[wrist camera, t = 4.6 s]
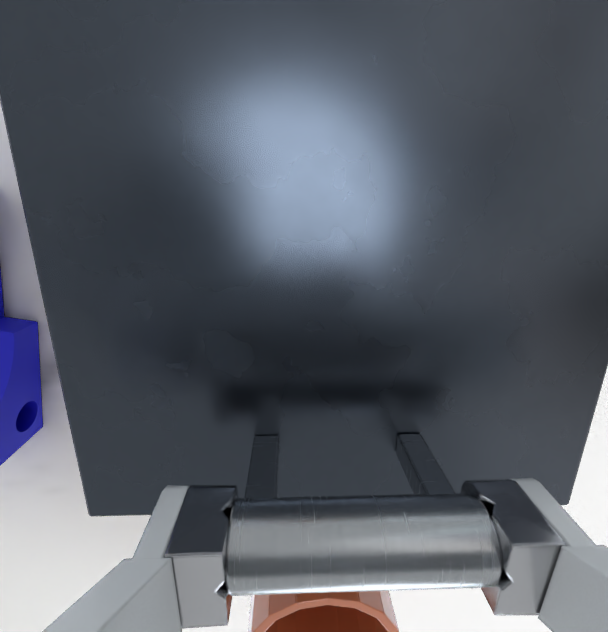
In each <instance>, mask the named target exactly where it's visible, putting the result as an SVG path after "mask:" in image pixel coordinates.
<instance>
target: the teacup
mask: <svg viewBox="0 0 608 632" xmlns="http://www.w3.org/2000/svg"><path fill="white" fill-rule="evenodd" d="M248 632H399V630H398V626H397V622H396V618H395V614H394V610H393V606H392V602H391V598H390V594H389V591H361V592H331V593H301V594H271V595H251V606H250V616H249V626H248Z"/></svg>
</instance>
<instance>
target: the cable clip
mask: <svg viewBox="0 0 608 632" xmlns="http://www.w3.org/2000/svg"><path fill="white" fill-rule="evenodd" d="M42 427H43V419H42V399H41V379H40V359H39V340H38V322H36V321H29V320H23V319H17V318H10V317H4V306H3V294H2V282H1V270H0V465H2V464H3V463H4V462H5V461H6V460H7V459H8V458H9V457H10V456H11V455H12V454H14V453H15V452H16V451H17V450H18V449H19V448H20V447H21V446H22V445H23V444H24V443H26V442H27V441H28V440H29V439H30V438H31V437H32V436H33V435H34V434H35V433H36V432H38V431H39V430H40V429H41V428H42Z"/></svg>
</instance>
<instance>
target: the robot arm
mask: <svg viewBox="0 0 608 632" xmlns="http://www.w3.org/2000/svg"><path fill="white" fill-rule="evenodd" d="M460 493H470V494H472V495H475V496H476V497H477V498H478V499H480V500H481V502H482V503H483V504H484V506H485V507H486V509H487V510H488V512H489V514H490V516H491V519H492V521H493V523H494V526H495V529H496V532H497V535H498V539H499V543H500V548H501V554H502V575H501V578H500V581H499V582H498V583H497V584H496V585H495V586H493V587H482V588H481V589H482V591H483V593H484V595H485V597H486V599H487V601H488V603H489V605H490V607H491V609H492V611H493V613H494V615H539V616H538V618H539V619H540V620H541V621H542V622H543V623H544V624H545V625H546V626H547V627H548V628H549V629H550V630H551V631H552V632H608V547H606V546H604V545H595V543H594V542H593V541H592V540H591V539H590V538H589V537H588V536H587V534H586V533H585V532H584V531H583V530H582V529H581V528H580V527H579V526H578V524H577V523H576V522H575V521H574V520H573V519H572V518H571V517H570V515H569V514H568V513H567V512H566V511H565V510H564V509H563V508H562V506H561V505H560V504H559V503H558V502H557V501H556V500H555V499H554V498H553V496H552V495H551V494H550V493H549V492H548V491H547V490H546V489H545V487H544V486H543V485H542V484H541V483H540V482H539V481H537V480H535V479H534V478H517V479H489V480H465V482H464V483H463V484H462V487H461V492H460ZM237 498H238V487H237V486H236V485H191V486H179V485H167V486H166V487H165V488H164V490H163V491H162V492H161V494H160V497H159V499H158V501H157V504H156V506H155V508H154V510H153V513H152V515H151V517H150V519H149V522H148V524H147V526H146V528H145V531H144V533H143V535H142V538H141V540H140V542H139V544H138V547H137V549H136V551H135V553H134V556H133V558H132V559H124V560H123V561H121V562H120V563H119V564H118V565H117V566H116V567H115V568H113V569H112V570H111V571H110V572H109V573H108V574H107V575H106V576H104V577H103V578H102V579H101V580H100V581H99V582H98V583H97V584H95V585H94V586H93V587H92V588H91V589H90V590H89V591H87V592H86V593H85V594H84V595H83V596H82V597H81V598H80V599H78V600H77V601H76V602H75V603H74V604H73V605H72V606H71V607H69V608H68V609H67V610H66V611H65V612H64V613H63V614H61V615H60V616H59V617H58V618H57V619H56V620H55V621H54V622H52V623H51V624H50V625H49V626H48V627H47V628H46V629H45V630H43V631H42V632H182V628H195V627H209V626H223V625H228V620H229V614H230V607H231V600H232V596H231V595H229V594H228V593H227V590H226V585H225V576H226V552H227V539H228V530H229V516H230V511H231V508H232V505H233V503H234V501H235V499H237Z"/></svg>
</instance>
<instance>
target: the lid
mask: <svg viewBox="0 0 608 632" xmlns="http://www.w3.org/2000/svg"><path fill="white" fill-rule="evenodd" d="M0 101H1V106H2V110H3V115H4V120H5V124H6V129H7V134H8V138H9V143H10V148H11V153H12V157H13V162H14V167H15V171H16V176H17V181H18V185H19V190H20V195H21V199H22V204H23V209H24V213H25V218H26V223H27V227H28V232H29V237H30V242H31V246H32V251H33V256H34V260H35V265H36V270H37V274H38V279H39V284H40V288H41V293H42V298H43V302H44V307H45V312H46V316H47V321H48V326H49V331H50V335H51V340H52V345H53V349H54V354H55V359H56V363H57V368H58V373H59V377H60V382H61V387H62V391H63V396H64V401H65V405H66V410H67V415H68V420H69V424H70V429H71V434H72V438H73V443H74V448H75V452H76V457H77V462H78V466H79V471H80V476H81V480H82V485H83V490H84V494H85V499H86V504H87V508H88V513H89V515H90V516H126V515H152V513H153V510H154V508H155V506H156V504H157V501H158V499H159V497H160V494H161V492H162V491H163V490H164V488H165V487H166V486H167V485H179V486H191V485H236V486H237V487H238V498H237V499H235V501H234V503H233V505H232V508H231V511H230V516H229V530H228V539H227V552H226V576H225V585H226V590H227V593H228V594H229V595H231V596H241V595H271V594H301V593H331V592H361V591H392V590H422V589H452V588H482V587H493V586H495V585H496V584H497V583H498V582H499V581H500V578H501V575H502V554H501V548H500V543H499V539H498V535H497V532H496V529H495V526H494V523H493V521H492V519H491V516H490V514H489V512H488V510H487V509H486V507H485V506H484V504H483V503H482V502H481V500H480V499H478V498H477V497H476V496H475V495H472V494H470V493H460V492H461V487H462V484H463V483H464V482H465V480H489V479H517V478H534V479H535V480H537V481H539V482H540V483H541V484H542V485H543V486H544V487H545V489H546V490H547V491H548V492H549V493H550V494H551V495H552V496H553V498H554V499H555V500H556V501H557V502H558V503H559V504H560V505H567V504H568V503H569V500H570V496H571V493H572V489H573V486H574V482H575V479H576V475H577V472H578V468H579V465H580V461H581V458H582V454H583V451H584V447H585V443H586V440H587V436H588V433H589V429H590V426H591V422H592V419H593V415H594V412H595V408H596V405H597V401H598V398H599V394H600V391H601V387H602V384H603V380H604V376H605V373H606V369H607V366H608V0H0Z"/></svg>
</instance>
